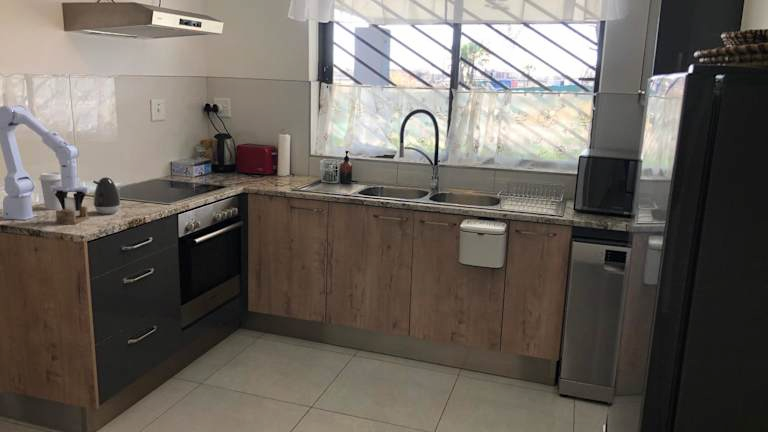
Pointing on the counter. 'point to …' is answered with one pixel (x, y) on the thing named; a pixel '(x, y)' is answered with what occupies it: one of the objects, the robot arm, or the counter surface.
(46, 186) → the coffee cup
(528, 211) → the counter surface
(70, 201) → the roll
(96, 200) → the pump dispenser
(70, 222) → the holder
